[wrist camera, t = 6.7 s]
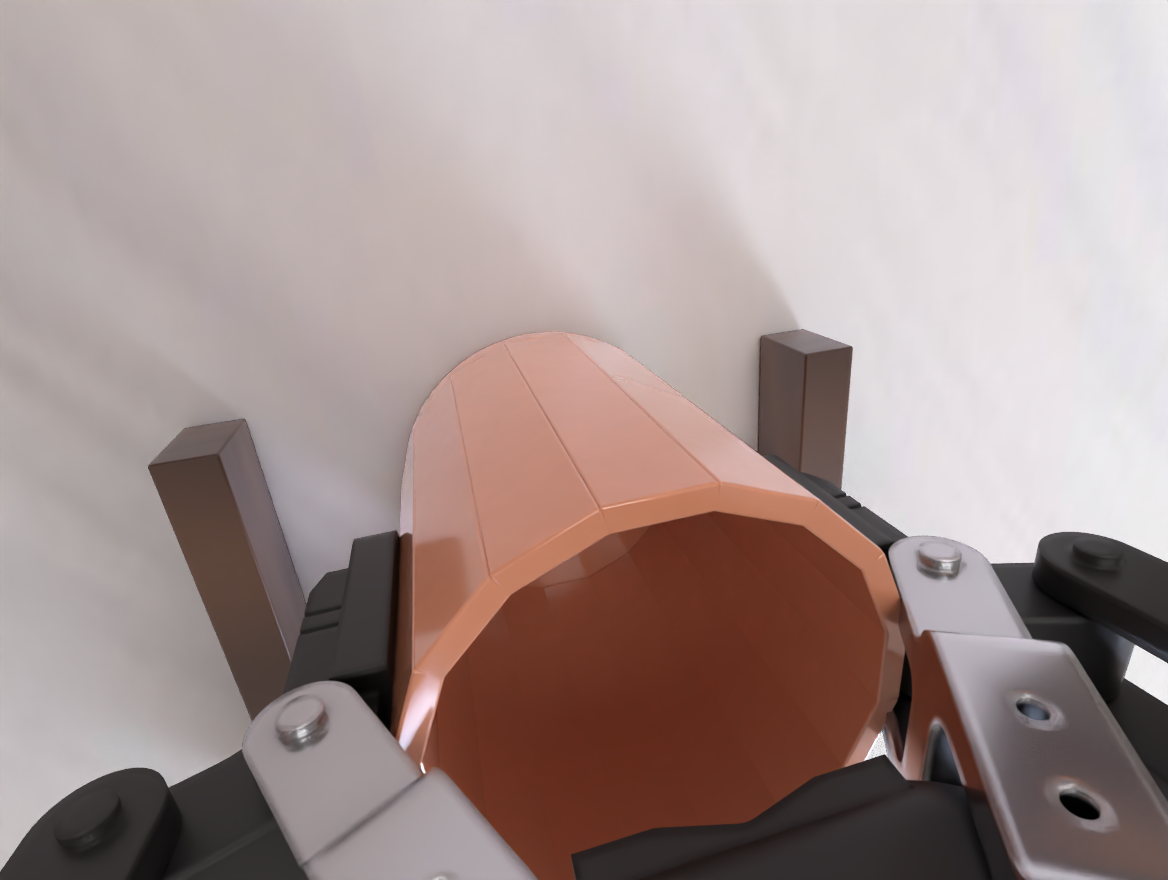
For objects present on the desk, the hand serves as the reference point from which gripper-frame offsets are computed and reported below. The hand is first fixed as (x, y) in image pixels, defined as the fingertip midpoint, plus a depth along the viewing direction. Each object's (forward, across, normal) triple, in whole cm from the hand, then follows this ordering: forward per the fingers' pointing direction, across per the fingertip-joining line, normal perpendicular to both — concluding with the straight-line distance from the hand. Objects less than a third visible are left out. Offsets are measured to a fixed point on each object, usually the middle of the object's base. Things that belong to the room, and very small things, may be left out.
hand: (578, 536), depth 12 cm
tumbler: (+3, 0, 0) cm, 3 cm away
